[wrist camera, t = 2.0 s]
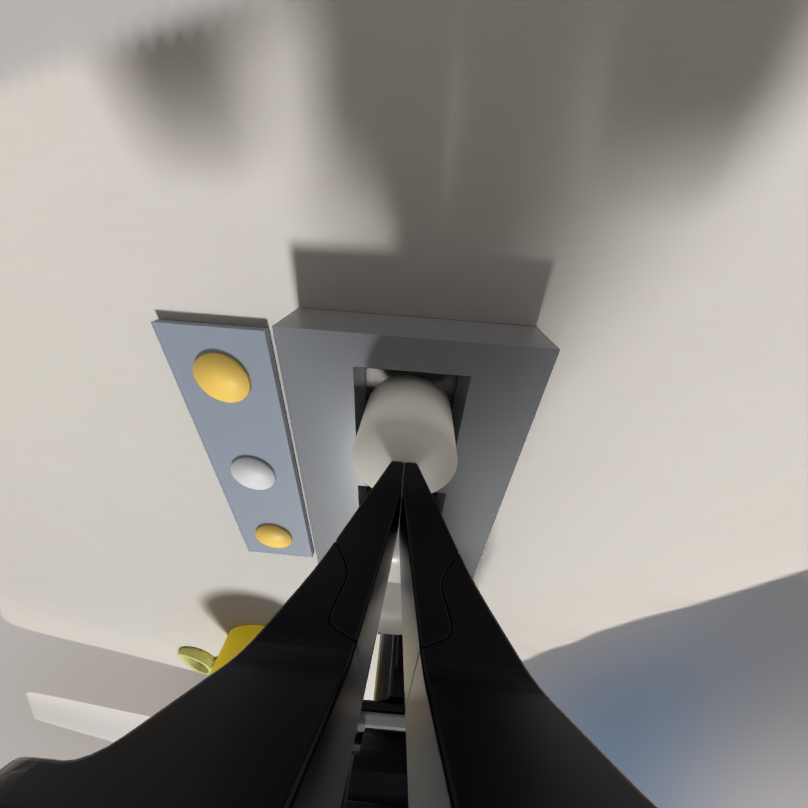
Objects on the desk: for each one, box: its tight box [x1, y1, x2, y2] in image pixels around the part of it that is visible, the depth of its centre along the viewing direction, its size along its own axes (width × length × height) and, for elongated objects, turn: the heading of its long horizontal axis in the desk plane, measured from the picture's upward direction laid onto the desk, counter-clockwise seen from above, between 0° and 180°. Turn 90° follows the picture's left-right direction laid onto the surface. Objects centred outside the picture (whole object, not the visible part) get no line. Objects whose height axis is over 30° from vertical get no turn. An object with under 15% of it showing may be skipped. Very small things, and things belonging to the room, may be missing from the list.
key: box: [177, 647, 217, 674], centre depth 38 cm, size 7×12×2 cm, turn 102°
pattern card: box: [151, 319, 314, 557], centre depth 17 cm, size 18×5×1 cm, turn 176°
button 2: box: [377, 582, 402, 635], centre depth 18 cm, size 4×4×3 cm
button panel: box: [272, 308, 560, 578], centre depth 16 cm, size 20×10×2 cm, turn 176°
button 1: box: [351, 375, 458, 497], centre depth 11 cm, size 4×4×3 cm
